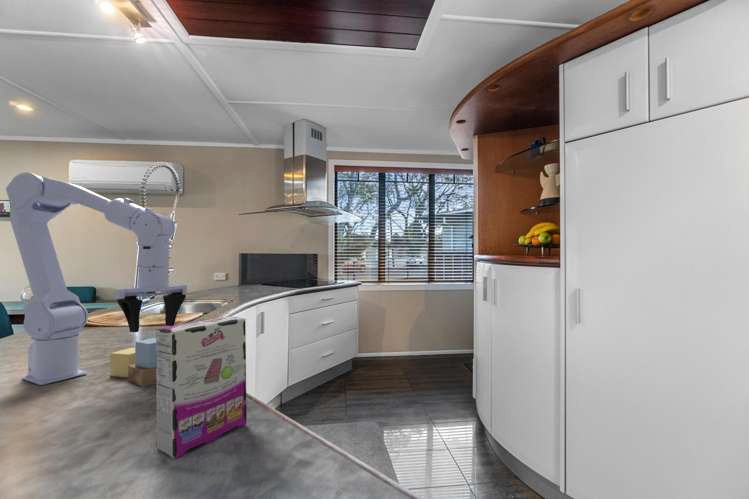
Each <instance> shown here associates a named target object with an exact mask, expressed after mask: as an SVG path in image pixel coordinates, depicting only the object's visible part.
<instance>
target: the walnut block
mask: <svg viewBox="0 0 749 499" xmlns="http://www.w3.org/2000/svg"><path fill="white" fill-rule="evenodd" d="M127 381H129V382H130V383H133V384H135V385H137V386H139V387H142V388H144V387H149V386H151V385H155V384H156V385H157V380H156V367H153V368H150V369H149V368H144V367H139V366H135V364H133V365H128V377H127Z"/></svg>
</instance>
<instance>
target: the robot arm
mask: <svg viewBox="0 0 749 499" xmlns="http://www.w3.org/2000/svg"><path fill="white" fill-rule="evenodd" d="M5 190H6V194H7V196H8V200H9V203H10V211H9V219H10V225H11V227H12V231H13V234H14V237H15V240H16V244H17V247H18V250H19V254H20V256H21V260H22V263H23V264H22V265H23V267H24V270H25V273H26V276H27V279H28V283H29V287H30V289H31V293H32V296H33V297H32V298H31V299H30V300H29V301H28V302H27V303H25V305H23V307H22V309H23V312H24V319H23V328H24V331H25V332H26V334H27V335H28V336H30V339H31V343H30V344H29V346H28V349H27V350H28V352H27V354H28V355H27V357H28V358H27V374H25V375H22V376H21V379H23V380H26V381H28V382H31V383H32V384H33V383H34V384H36V385H40V386H42V385H43V386H45V385H47V384H52V383H56V382H59V381H63V380H67V379H72V378H76V377H80V376H83V375H87V374H88V372H87V371H85V370H83V369H79V361H80V360H79V359H80V358H79V356H80V355H79V354H80V353H79V350H80V333H82V328H84V327H85V325H87V323H88V320H89V312H88V310H87V308H86V307H85V306H84V304H82V303H81V301H80V297H79V296H78V295H77V294H75V293H74V292H72V291H70V290H69V289H67V285H66V282H65V278H64V275H63V271H62V268H61V266H60V262H59V259H58V256H57V252H56V249H55V246H54V243H53V239H52V236H51V232H50V229H49V227H48V223H49V222H50V221H51V220H53V219H55V218H56V217H57V216H58V215H60V214H61V213H63V211H65V210H66V209H68V208H69V207H70V206H71V205H81V206H84V207H86V208H89V209H92V210H94V211H98V212H100V213H103V214H104V218H105V219H106V221H108V222H109V223H111V224H114V225H116V226H119V227H122V228H124V229H126V230H128V231H131V232H134V234H135V235H136V236H137V244H138V270H137V271H138V272H137V275H138V276H137V287H127V288H115V289H113V290H114V292H113V297H114V298H113V299H116V300H117V301H116V302H117V304H118V306H119V307H120V309H121V310H122V312H123V314H124V317H125V319H126V322H127V325H128V329H129V332H130V333H139V331H140V314H141V309H142V306H143V300H142V299H139V298H143V297H151V296H152V297H153V296H154V297H155V296H162V299H163V303H164V310H165V312H164V314H165V317H164V318H165V322H164V323H165V327H169V326H175V323H176V320H177V316H178V312H179V311H180V309H181V306H182V305H183V304H184V303H183V302H184V301H185V300H186V297H187V296H186V294H188V284H171V285H169V282H170V281H169V278H170V276H169V274H170V237H172V236H173V234H174V232H175V228H176V226H175V222H174V221H173V219H172V218H170V216H167V214H164V213H163V214H162V213H157V212H156V213H154V209H153V208H150V207H143V206H140V205H138V204H136V203H134V202H135V200H133V199H131V198H127V197H124V198H118V197H117V198H114V199H109V198H106V197H104V196H102V195H100V194H98V193H96V192H94V191H91V190H89V189H87V188H86V187H83V186H81V185H77V184H74V183H69V182H66V181H61V180H58V179H54V178H50V177H46V176H41V175H37V174H35V173H32V172H21V173H18V174H17V175H15V176H14V177H13V178H12V179H11V181H10V182H9V184H8V185H7V186H6V188H5Z"/></svg>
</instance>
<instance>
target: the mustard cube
mask: <svg viewBox="0 0 749 499" xmlns="http://www.w3.org/2000/svg"><path fill="white" fill-rule="evenodd" d="M133 364H135V347H129V348H125V349H121V350H117V351H114V352H111V353H110V370H109V372H110V374H109V376H112V377H122V378H128V365H133Z"/></svg>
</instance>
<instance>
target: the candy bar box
mask: <svg viewBox="0 0 749 499" xmlns="http://www.w3.org/2000/svg"><path fill="white" fill-rule="evenodd" d="M246 329H247V328H246V318H244V317H237V316H231V315H230V316H229V315H228V316H223V317H222V316H221V317H216V318H211V319H205V320H200V321H193V322H187V323H183V324H174V326H165V327H164V326H163V327H159V328H156V329H155V338H156V380H157V383H156V386H155V387H156V388H155V389H156V390H155V391H156V397H155V399H156V400H155V401H156V449H157V451H159V452H160V453H162V454H164V455H166V456H168V457H169V458H172V459H173V460H176V459H179V458H181V457H183V456H185V455H187V454H189V453H192V452H194V451H195V450H197V449H199V448H202V447H204V446H206V445H207V444H209V443H212V442H213V441H216V440H218V439H220V438H222V437H223V436H225V435H228V434H230V433H231V432H234V431H235V430H238V429H240V428H242V427H244V426H246V425H247V345H246V342H247V341H246V340H247V338H246V335H247V334H246ZM243 425H244V426H243ZM241 426H242V427H241ZM239 427H240V428H239ZM237 428H238V429H237Z"/></svg>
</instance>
